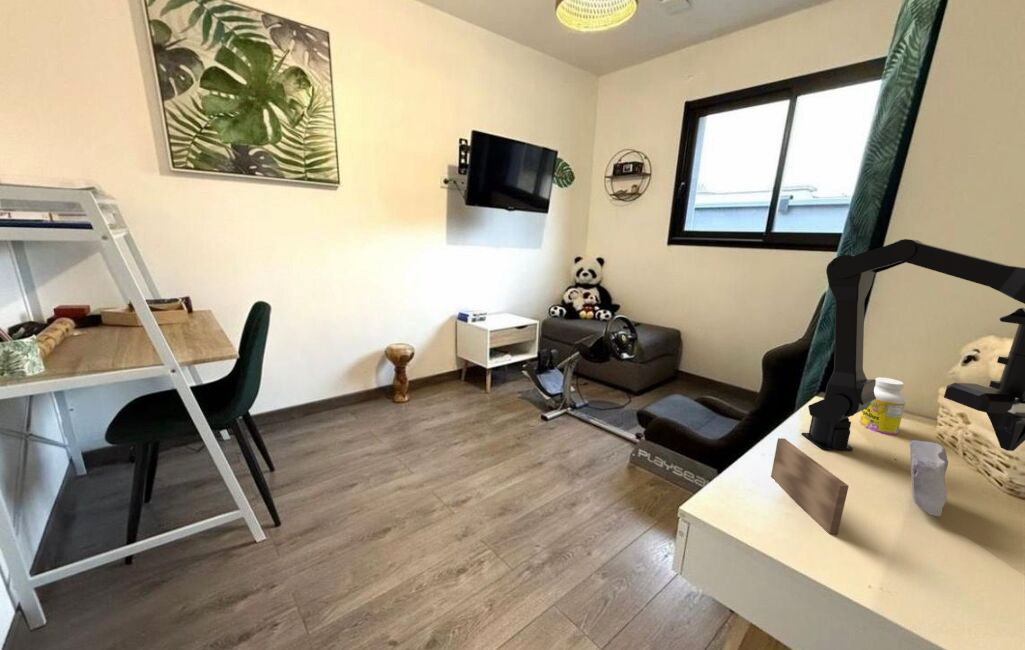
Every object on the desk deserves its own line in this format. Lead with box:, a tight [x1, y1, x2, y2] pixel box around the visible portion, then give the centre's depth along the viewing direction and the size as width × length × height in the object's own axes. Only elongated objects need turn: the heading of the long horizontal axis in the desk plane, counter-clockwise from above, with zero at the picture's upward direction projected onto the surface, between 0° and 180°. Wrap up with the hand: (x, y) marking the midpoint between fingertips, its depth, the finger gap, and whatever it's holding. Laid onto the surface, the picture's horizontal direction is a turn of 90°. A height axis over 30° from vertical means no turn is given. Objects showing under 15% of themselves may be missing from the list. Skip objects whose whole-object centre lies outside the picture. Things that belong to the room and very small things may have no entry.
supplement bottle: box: [859, 377, 907, 436], centre depth 90 cm, size 7×7×13 cm
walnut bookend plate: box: [770, 437, 849, 535], centre depth 64 cm, size 14×1×8 cm, turn 179°
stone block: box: [909, 439, 949, 517], centre depth 65 cm, size 12×5×10 cm, turn 134°
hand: (1006, 449), depth 63 cm, fingers closed
